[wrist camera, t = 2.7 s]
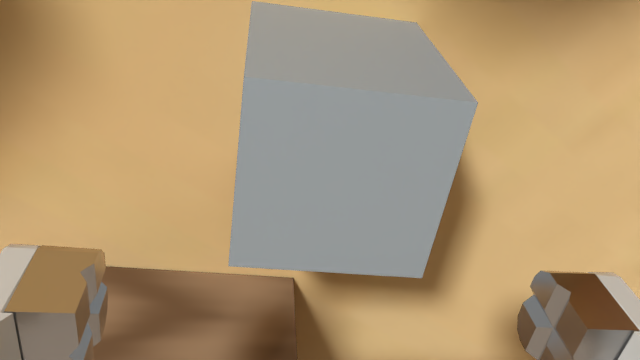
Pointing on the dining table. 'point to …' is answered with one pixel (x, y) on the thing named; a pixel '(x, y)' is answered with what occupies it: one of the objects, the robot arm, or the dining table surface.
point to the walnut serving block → (197, 316)
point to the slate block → (344, 143)
